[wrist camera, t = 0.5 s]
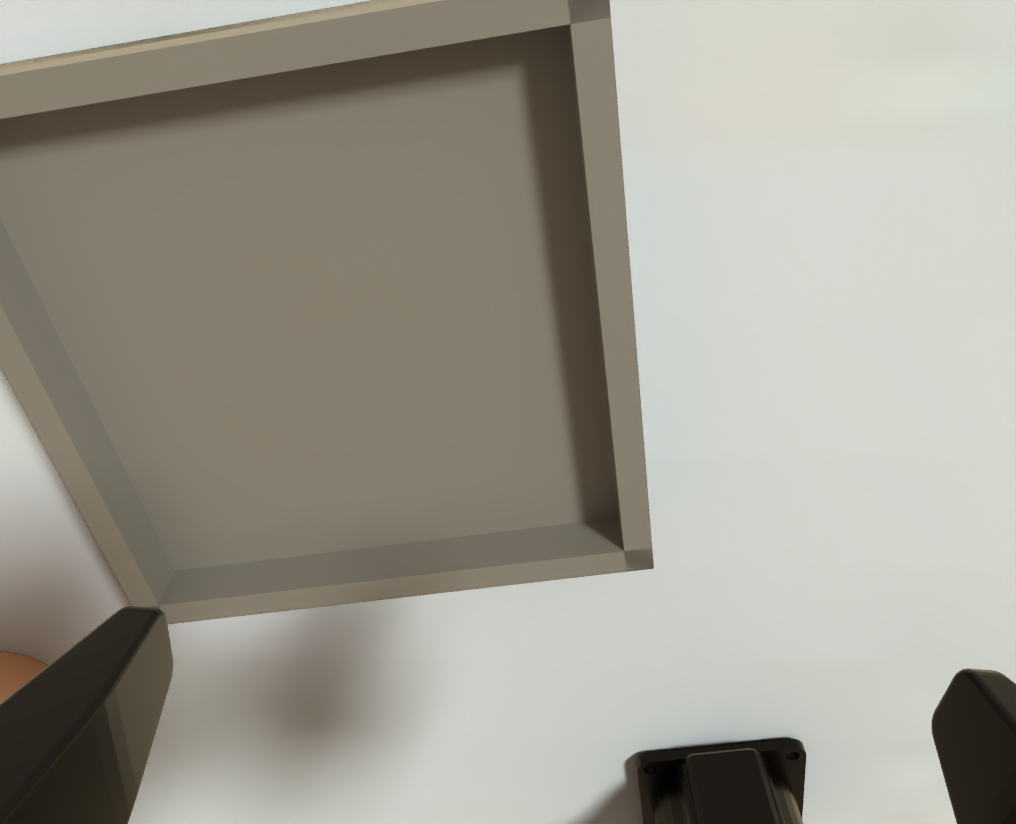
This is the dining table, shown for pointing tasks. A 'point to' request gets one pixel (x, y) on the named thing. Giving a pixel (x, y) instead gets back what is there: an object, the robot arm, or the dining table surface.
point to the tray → (330, 303)
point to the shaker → (16, 672)
